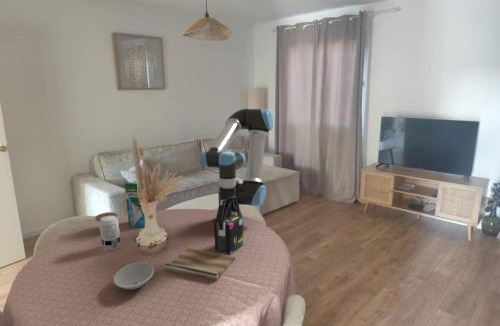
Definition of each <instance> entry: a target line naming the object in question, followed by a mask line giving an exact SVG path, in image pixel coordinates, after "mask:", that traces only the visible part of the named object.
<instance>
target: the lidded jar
mask: <svg viewBox="0 0 500 326" xmlns="http://www.w3.org/2000/svg"><path fill="white" fill-rule="evenodd" d="M111 215H112V216H116V217H117V218H118V215H117V213H116V212H112V211H111V212H102V213H99V214H97V215H96V216H95V217H94V219H95V224H96V226H97V228H98V229H99V230H100V220H101V218H103V217H105V216H111Z"/></svg>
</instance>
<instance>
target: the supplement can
mask: <svg viewBox="0 0 500 326" xmlns="http://www.w3.org/2000/svg"><path fill="white" fill-rule="evenodd" d="M119 223H120V222H119V219H118V216H117V217H116V216H112V215H111V216H105V217H103V218H101V220H100V229H99V230H100V231H99V232H100V237H101V238H100V239H101V247H102V250H104V251H105V250H106V251H105V252H112V250H113V251H116V250H118V249H120V247H121V246H122V240H121V234H120V233H121V232H120V224H119Z"/></svg>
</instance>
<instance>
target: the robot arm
mask: <svg viewBox="0 0 500 326" xmlns="http://www.w3.org/2000/svg"><path fill="white" fill-rule="evenodd" d="M273 119H274V118H273V115H272V112H271V110H270V109H267V108H242V109H239V110H237V111H236V112H233V114H231V115H230V116H229V117H228V118H227V120H226V121H225V124H224V127H223V129H222V130H221V132H220V133H219V135H218V136H217V137H216V139H215V141H214V142H213V143H212V145H211V146H210V148H209V149H208V150H205V151H202V152H200V153H199V155H198V162H199V165H200V166H201V167H205V168H216V169H218V174H219V175H218V189H217V192H218V193H217V194H218V208H217V213H216V216H215V217H216V218H215V220H216V223H219V236H224V237H225V222H224V220H225V216H226V214H229V215H234V216H238V217H242V218H244V217H243V213H242V211H241V207H240V205H243V206H251V207H261V206H262V205H263V204H264V202H265V200H266V196H267V186H266V185H264V183H265V182H264V181H263V179H262V174H263V165H264V154H265V148H266V147H265V146H266V145H265V144H266V137H267V136H268V135H269V134H270V131H272V130H273V126H274V121H273ZM242 130H247V132H248V134H249V144H248V152H247V153H248V155H247V158H246V156H245V154H244V153H242V152H240V151H235V152H233V151H228V148H229V146H230V145H231V144H232V142H233V140H234V138H235V137H236V136H237V134H238V133H240V132H241V131H242ZM246 160H247V161H246ZM246 162H247V164H246ZM245 164H246V171H245V172H246V174H245V178H244V179H242V183H241V182H240V181H239V179H236V178H237V177H236V176H237V174H236V171H237V170H238V169H241V168H242V167H243V166H245Z"/></svg>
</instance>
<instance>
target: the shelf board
mask: <svg viewBox="0 0 500 326" xmlns="http://www.w3.org/2000/svg"><path fill="white" fill-rule="evenodd" d="M235 260H236V256H235V255H234V256H233V255H229V254H228V255H227V254H222V253H216V252H211V251H206V250H200V249H195V248H190V247H188V248H186V249H185V250H184V251H182V253H181V254H179V255H178V256H177V257H176V258H174V259H173V260H172V261H165V262H164V267H165V270H166V271H169V272H174V273H178V274H184V275H187V276H192V277H196V278H200V279H201V278H203V279H206V280H211V281H215V282H216V281H218V280H219V279H220V278H221V277H222V275H224V273H225V272H226V271H227V269H229V268H230V266H231V265H232V264H233V263H234V262H235Z"/></svg>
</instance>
